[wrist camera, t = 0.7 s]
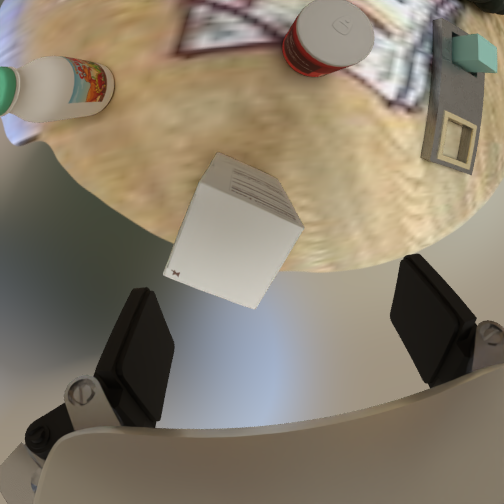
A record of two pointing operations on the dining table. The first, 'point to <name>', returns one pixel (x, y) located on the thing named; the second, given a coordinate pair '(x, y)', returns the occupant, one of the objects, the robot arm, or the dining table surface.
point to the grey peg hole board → (452, 102)
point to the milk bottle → (55, 89)
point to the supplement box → (234, 233)
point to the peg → (474, 54)
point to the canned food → (328, 38)
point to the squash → (490, 6)
